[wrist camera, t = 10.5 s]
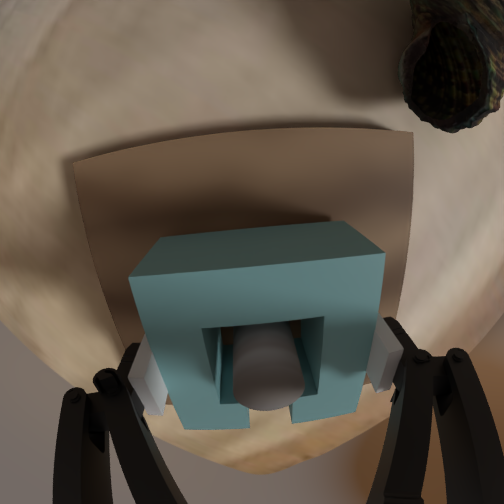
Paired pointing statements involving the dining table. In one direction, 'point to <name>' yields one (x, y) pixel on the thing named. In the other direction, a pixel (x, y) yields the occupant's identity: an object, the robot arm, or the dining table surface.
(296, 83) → the dining table surface
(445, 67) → the seashell
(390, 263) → the post block
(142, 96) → the dining table surface
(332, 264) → the teal slotted block
